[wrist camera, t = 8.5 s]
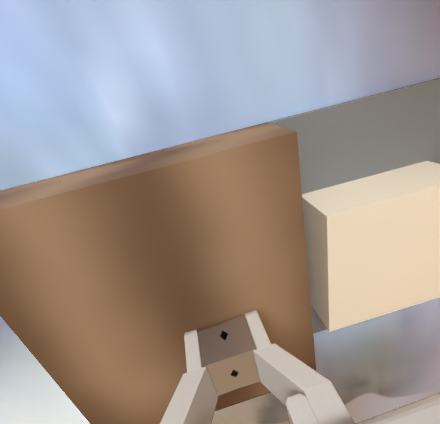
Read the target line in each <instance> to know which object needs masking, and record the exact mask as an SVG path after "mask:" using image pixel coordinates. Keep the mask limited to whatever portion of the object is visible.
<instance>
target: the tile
mask: <svg viewBox="0 0 440 424" xmlns="http://www.w3.org/2000/svg"><path fill="white" fill-rule="evenodd" d="M302 201H303V214H304V226H305V239H306V252H307V264H308V277H309V290H310V302H311V306H312V307H313V309H314V310H315V312H316V313H317V315H318V316H319V318H320V319H321V321H322V322H323V323H324V325H325V326H326V328H327V329H328V331H329V332H331V331H334V330H338V329H341V328H344V327H347V326H350V325H353V324H357V323H360V322H363V321H366V320H369V319H372V318H375V317H379V316H382V315H385V314H388V313H391V312H394V311H398V310H401V309H404V308H407V307H410V306H413V305H417V304H420V303H423V302H426V301H429V300H432V299H436V298H439V297H440V164H438V163H434V162H430V161H424V162H420V163H416V164H413V165H409V166H405V167H402V168H398V169H394V170H390V171H387V172H383V173H379V174H376V175H372V176H368V177H364V178H361V179H357V180H353V181H350V182H346V183H342V184H338V185H335V186H331V187H327V188H324V189H320V190H316V191H312V192H309V193H305V194H302Z"/></svg>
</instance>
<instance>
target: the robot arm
mask: <svg viewBox="0 0 440 424" xmlns="http://www.w3.org/2000/svg"><path fill="white" fill-rule="evenodd" d="M184 342H185V354H186V366H187V373H184V374H183V375H182V378H181V380H180V382H179V384H178V386H177V388H176V390H175V392H174V395H173V397H172V399H171V401H170V403H169V405H168V407H167V409H166V412H165V414H164V416H163V418H162V420H161V422H160V424H211V422H212V418H213V415H214V411H215V407H216V404H217V400H218V396H219V395H222V394H225V393H227V392H230V391H233V390H235V389H238V388H241V387H244V386H247V385H250V384H254V383H257V382H260V381H261V383H262V384H263V385H264V386H265V387H266V388H267V389H268V390H269V391H270V392H271V393H272V394H273V395H275V396H276V397H277V398H278V399H279V400H280V401H281V402H282V403H283V404H284V405H285V406H286V407H287V412H288V418H289V423H290V424H355V423H354V421H353V419H352V418H351V416H350V414H349V412H348V411H347V409H346V407H345V405H344V404H343V402H342V400H341V398H340V397H339V395H338V393H337V392H336V390H335V388H334V386H333V385H332V383H331V381H329V380H328V379H326V378H325V377H324V376H322V375H321V374H319V373H318V372H316V371H315V370H313V369H312V368H310V367H309V366H307V365H306V364H305V363H303V362H302V361H300V360H299V359H297V358H296V357H294V356H293V355H291V354H290V353H288V352H287V351H286V350H284V349H283V348H281V347H280V346H278V345H277V344H275V343H274V344H271V342H270V340H269V338H268V335H267V333H266V331H265V328H264V326H263V324H262V321H261V319H260V317H259V314H258V312H257V311H256V310H255V311H252V312H248V313H245V314H242V315H239V316H236V317H233V318H230V319H227V320H224V321H221V322H219V323H216V324H212V325H209V326H205V327H202V328H198V329H196V330H192V331H189V332H186V333H185V334H184ZM356 424H440V393H438V394H435V395H432V396H429V397H427V398H424V399H421V400H419V401H416V402H413V403H411V404H408V405H405V406H403V407H400V408H397V409H394V410H392V411H389V412H386V413H383V414H381V415H378V416H375V417H373V418H370V419H367V420H364V421H362V422H359V423H356Z"/></svg>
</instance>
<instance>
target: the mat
mask: <svg viewBox="0 0 440 424" xmlns="http://www.w3.org/2000/svg"><path fill="white" fill-rule="evenodd" d="M267 123H270V124H273V125H276V126H280V127H283V128H286V129H290V130H293V131H296V132H297V138H298V150H299V163H300V176H301V188H302V194H305V193H309V192H312V191H316V190H320V189H324V188H327V187H331V186H335V185H338V184H342V183H346V182H350V181H353V180H357V179H361V178H364V177H368V176H372V175H376V174H379V173H383V172H387V171H390V170H394V169H398V168H402V167H405V166H409V165H413V164H416V163H420V162H424V161H430V162H434V163H438V164H440V78H438V79H434V80H430V81H427V82H423V83H419V84H415V85H411V86H407V87H403V88H399V89H395V90H391V91H388V92H384V93H380V94H376V95H372V96H368V97H364V98H360V99H356V100H353V101H349V102H345V103H341V104H337V105H333V106H329V107H325V108H321V109H317V110H314V111H310V112H306V113H302V114H298V115H294V116H290V117H286V118H282V119H279V120H275V121H271V122H267ZM311 315H312V327H313V333H316V332H319V331H322V330H325V329H327V328H326V326H325V325H324V323H323V322H322V321H321V319H320V318H319V316H318V315H317V313H316V312H315V310H314V309H313V307H312V306H311Z"/></svg>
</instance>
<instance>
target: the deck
mask: <svg viewBox="0 0 440 424" xmlns="http://www.w3.org/2000/svg"><path fill="white" fill-rule="evenodd" d="M255 310H256V311H257V312H258V314H259V317H260V319H261V321H262V324H263V326H264V328H265V331H266V333H267V335H268V338H269V340H270V342H271V344H274V343H275V344H277V345H278V346H280V347H281V348H283V349H284V350H286V351H287V352H288V353H290V354H291V355H293V356H294V357H296V358H297V359H299V360H300V361H302V362H303V363H305V364H306V365H307V366H309V367H310V368H312V369H313V370H315V371H316V365H315V353H314V340H313V327H312V315H311V302H310V290H309V277H308V264H307V252H306V239H305V226H304V214H303V201H302V188H301V176H300V163H299V150H298V138H297V132H296V131H293V130H290V129H286V128H283V127H280V126H276V125H273V124H270V123H263V124H259V125H255V126H251V127H247V128H243V129H240V130H236V131H232V132H228V133H224V134H220V135H216V136H212V137H208V138H205V139H201V140H197V141H193V142H189V143H185V144H181V145H177V146H173V147H170V148H166V149H162V150H158V151H154V152H150V153H146V154H142V155H138V156H134V157H131V158H127V159H123V160H119V161H115V162H111V163H107V164H103V165H99V166H96V167H92V168H88V169H84V170H80V171H76V172H72V173H68V174H64V175H60V176H57V177H53V178H49V179H45V180H41V181H37V182H33V183H29V184H25V185H22V186H18V187H14V188H10V189H6V190H2V191H0V316H1V317H2V318H3V319H4V321H5V322H6V323H7V324H8V325H9V327H10V328H11V329H12V330H13V331H14V333H15V334H16V335H17V336H18V337H19V339H20V340H21V341H22V342H23V343H24V345H25V346H26V347H27V348H28V349H29V351H30V352H31V353H32V354H33V355H34V357H35V358H36V359H37V360H38V361H39V363H40V364H41V365H42V366H43V367H44V369H45V370H46V371H47V372H48V373H49V375H50V376H51V377H52V378H53V379H54V381H55V382H56V383H57V384H58V385H59V386H60V388H61V389H62V390H63V391H64V392H65V394H66V395H67V396H68V397H69V398H70V400H71V401H72V402H73V403H74V404H75V406H76V407H77V408H78V409H79V410H80V412H81V413H82V414H83V415H84V416H85V418H86V419H87V420H88V421H89V422H90V424H160V422H161V420H162V418H163V416H164V414H165V412H166V409H167V407H168V405H169V403H170V401H171V399H172V397H173V395H174V392H175V390H176V388H177V386H178V384H179V382H180V380H181V378H182V375H183V374H184V373H187V366H186V354H185V342H184V334H185V333H186V332H189V331H192V330H196V329H198V328H202V327H205V326H209V325H212V324H216V323H219V322H221V321H224V320H227V319H230V318H233V317H236V316H239V315H242V314H245V313H248V312H252V311H255ZM267 393H270V391H269V390H268V389H267V388H266V387H265V386H264V385H263V384H262V383H261V381H260V382H257V383H254V384H250V385H247V386H244V387H241V388H238V389H235V390H233V391H230V392H227V393H225V394H222V395H219V396H218V400H217V404H216V407H215V411H217V410H220V409H223V408H226V407H229V406H232V405H235V404H238V403H240V402H243V401H246V400H249V399H252V398H255V397H258V396H261V395H264V394H267Z"/></svg>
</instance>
